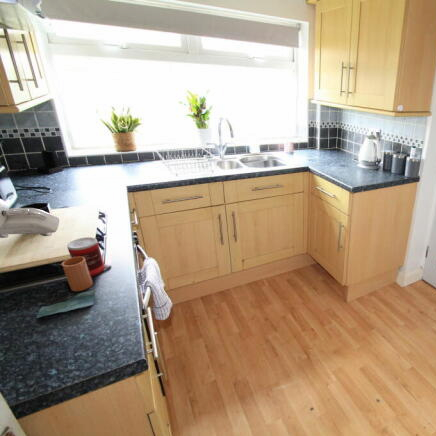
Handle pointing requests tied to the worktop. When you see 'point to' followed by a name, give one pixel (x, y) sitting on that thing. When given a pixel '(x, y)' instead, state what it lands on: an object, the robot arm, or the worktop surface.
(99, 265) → the canned food
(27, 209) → the robot arm
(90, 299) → the terrain model
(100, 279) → the worktop surface
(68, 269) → the terracotta pot
